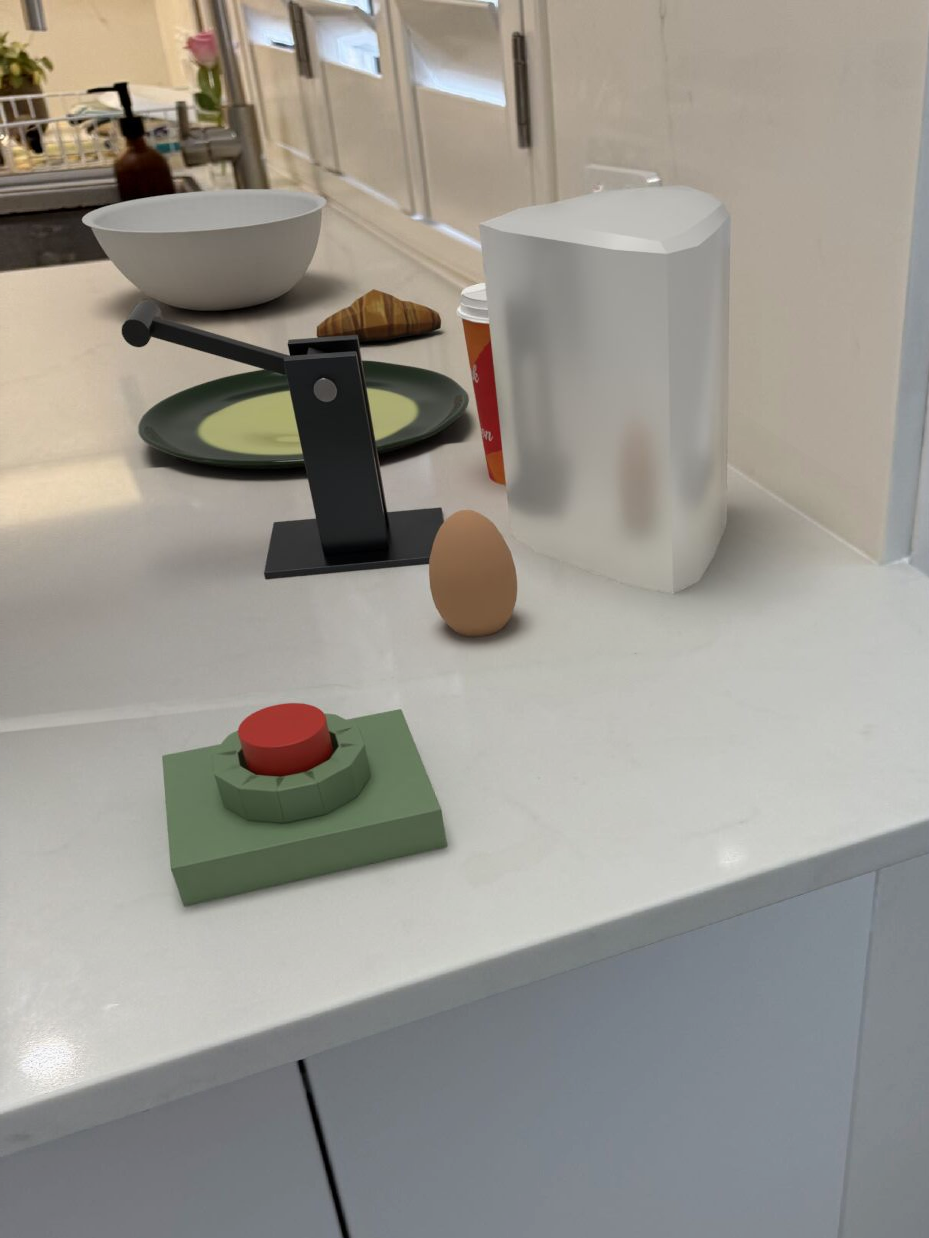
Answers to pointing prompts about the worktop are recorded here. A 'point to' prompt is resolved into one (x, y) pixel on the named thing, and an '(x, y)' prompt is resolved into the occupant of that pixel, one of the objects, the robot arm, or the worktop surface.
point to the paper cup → (483, 375)
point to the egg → (472, 575)
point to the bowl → (212, 244)
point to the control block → (298, 811)
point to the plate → (293, 416)
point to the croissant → (380, 319)
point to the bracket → (342, 474)
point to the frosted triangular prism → (614, 379)
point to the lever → (197, 339)
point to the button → (285, 739)
